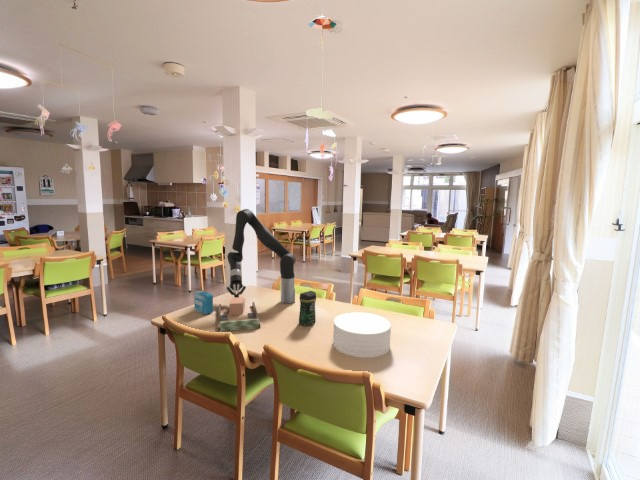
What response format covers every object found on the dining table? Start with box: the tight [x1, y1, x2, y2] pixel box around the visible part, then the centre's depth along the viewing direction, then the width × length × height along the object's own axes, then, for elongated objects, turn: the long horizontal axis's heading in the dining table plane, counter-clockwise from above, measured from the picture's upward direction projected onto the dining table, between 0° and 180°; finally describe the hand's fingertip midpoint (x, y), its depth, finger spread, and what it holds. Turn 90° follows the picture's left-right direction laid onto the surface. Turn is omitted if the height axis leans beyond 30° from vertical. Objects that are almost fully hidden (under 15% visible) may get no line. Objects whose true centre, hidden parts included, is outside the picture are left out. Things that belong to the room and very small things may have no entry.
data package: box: [193, 290, 214, 315], centre depth 201 cm, size 12×4×12 cm, turn 57°
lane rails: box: [217, 301, 261, 332], centre depth 193 cm, size 22×38×5 cm, turn 16°
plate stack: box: [332, 311, 392, 359], centre depth 162 cm, size 28×28×12 cm
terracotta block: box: [228, 296, 246, 316], centre depth 204 cm, size 8×12×7 cm, turn 8°
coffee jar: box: [298, 290, 317, 326], centre depth 186 cm, size 10×8×19 cm
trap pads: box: [221, 312, 256, 321], centre depth 195 cm, size 20×8×1 cm, turn 107°
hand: (236, 300), depth 212 cm, fingers closed
